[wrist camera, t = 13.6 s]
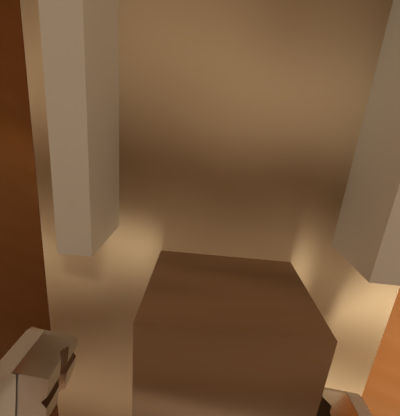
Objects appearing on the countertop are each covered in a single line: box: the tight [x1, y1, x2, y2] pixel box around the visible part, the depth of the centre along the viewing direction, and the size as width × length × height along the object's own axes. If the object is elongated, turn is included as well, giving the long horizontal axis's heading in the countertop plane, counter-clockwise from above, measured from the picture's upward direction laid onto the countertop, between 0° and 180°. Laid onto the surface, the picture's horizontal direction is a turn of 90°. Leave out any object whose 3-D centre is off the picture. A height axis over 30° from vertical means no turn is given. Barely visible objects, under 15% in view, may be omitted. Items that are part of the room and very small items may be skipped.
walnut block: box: [132, 251, 338, 416], centre depth 10 cm, size 8×5×4 cm, turn 175°
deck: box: [20, 0, 400, 416], centre depth 10 cm, size 34×14×2 cm, turn 175°
